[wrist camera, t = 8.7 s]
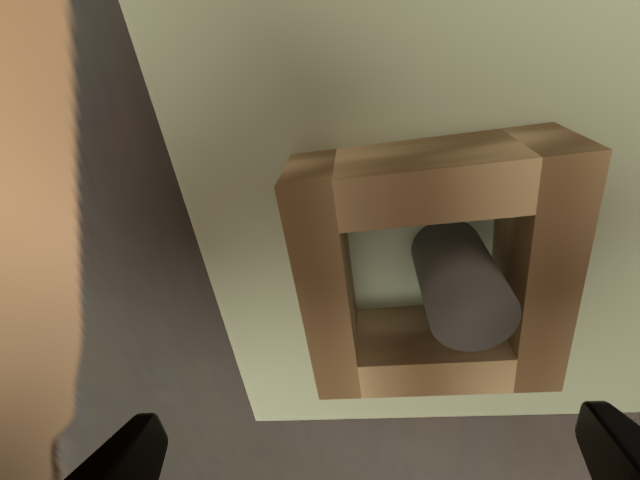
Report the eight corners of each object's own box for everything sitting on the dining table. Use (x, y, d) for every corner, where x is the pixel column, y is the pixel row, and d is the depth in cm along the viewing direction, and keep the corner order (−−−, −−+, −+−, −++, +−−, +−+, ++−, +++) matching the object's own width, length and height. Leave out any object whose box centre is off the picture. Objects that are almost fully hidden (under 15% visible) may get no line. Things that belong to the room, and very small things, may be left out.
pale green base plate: (818, -124, 9) (1217, -255, 5) (639, 389, 18) (732, 506, 13) (138, 0, 12) (12, -17, 8) (261, 400, 20) (235, 503, 16)
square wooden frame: (553, 121, 12) (612, 149, 9) (526, 328, 15) (562, 391, 13) (290, 154, 13) (273, 187, 10) (324, 340, 16) (319, 399, 14)
